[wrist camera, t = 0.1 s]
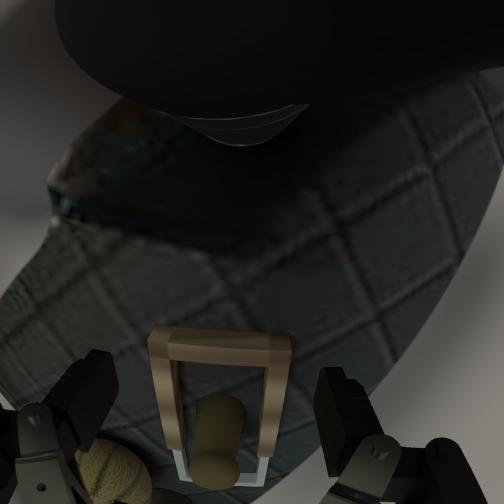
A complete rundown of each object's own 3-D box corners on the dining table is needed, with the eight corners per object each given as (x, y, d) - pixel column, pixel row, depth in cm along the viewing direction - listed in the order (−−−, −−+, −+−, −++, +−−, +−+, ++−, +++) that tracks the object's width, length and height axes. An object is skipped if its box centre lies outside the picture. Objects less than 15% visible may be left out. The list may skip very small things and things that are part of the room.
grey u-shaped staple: (174, 437, 35) (172, 447, 33) (269, 444, 35) (269, 455, 33) (181, 470, 38) (180, 480, 36) (263, 476, 38) (263, 486, 36)
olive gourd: (256, 408, 33) (256, 483, 22) (227, 431, 34) (221, 500, 24) (214, 386, 32) (202, 463, 21) (187, 411, 33) (171, 482, 23)
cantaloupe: (107, 469, 40) (85, 530, 25) (61, 418, 35) (24, 483, 21) (176, 473, 38) (162, 547, 24) (131, 419, 34) (98, 506, 20)
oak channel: (155, 324, 29) (147, 340, 26) (288, 333, 30) (292, 350, 27) (172, 432, 35) (167, 448, 32) (271, 440, 35) (272, 457, 32)
